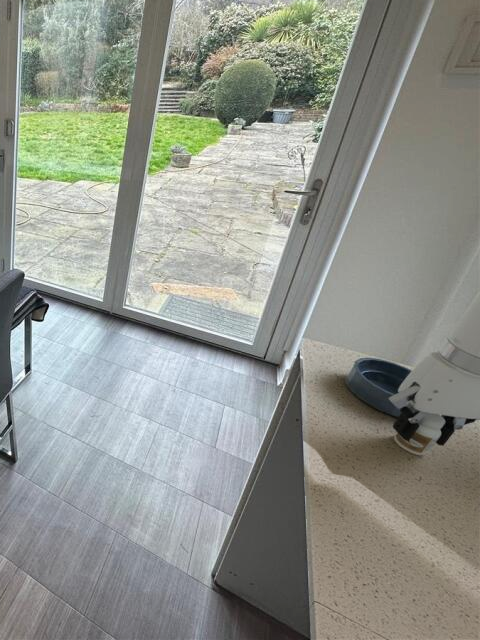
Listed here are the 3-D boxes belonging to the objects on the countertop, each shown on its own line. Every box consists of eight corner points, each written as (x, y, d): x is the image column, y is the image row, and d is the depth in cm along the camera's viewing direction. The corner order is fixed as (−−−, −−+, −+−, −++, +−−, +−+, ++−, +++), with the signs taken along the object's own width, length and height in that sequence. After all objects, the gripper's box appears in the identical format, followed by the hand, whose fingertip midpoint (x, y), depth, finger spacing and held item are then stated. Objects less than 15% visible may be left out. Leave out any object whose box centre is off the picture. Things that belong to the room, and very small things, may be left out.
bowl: (397, 380, 91) (409, 362, 88) (447, 427, 79) (462, 409, 77) (331, 371, 93) (340, 353, 91) (370, 416, 81) (382, 397, 79)
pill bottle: (388, 440, 76) (409, 410, 73) (400, 432, 78) (421, 403, 74) (418, 459, 73) (442, 429, 69) (431, 451, 74) (454, 421, 71)
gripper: (514, 350, 68) (453, 427, 76) (397, 336, 71) (351, 412, 79) (563, 382, 61) (491, 463, 69) (432, 365, 64) (377, 445, 72)
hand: (417, 435), depth 74 cm, fingers closed on pill bottle, 4 cm apart
